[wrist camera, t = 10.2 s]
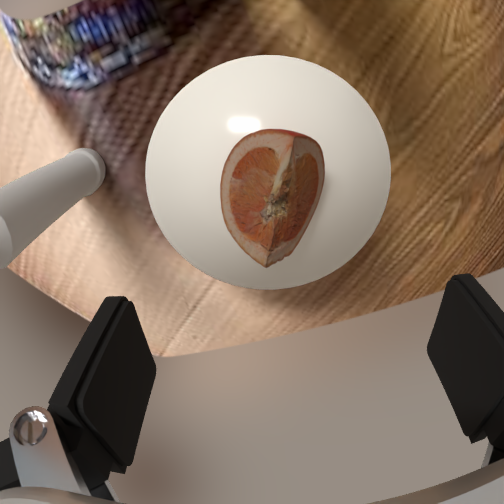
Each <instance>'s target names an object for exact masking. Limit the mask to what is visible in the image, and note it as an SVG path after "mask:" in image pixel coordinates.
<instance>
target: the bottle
mask: <svg viewBox="0 0 504 504" xmlns="http://www.w3.org/2000/svg"><path fill="white" fill-rule="evenodd" d="M104 177H105V164H104V161H103V159H102V157H101V156H100V155H99V153H97V152H96V151H94V150H92V149H87V148H79V149H77V150H74V151H72V152H69V153H68V154H67V155H66V156H65V157H64V158H62V159H59V160H57V161H55V162H53V163H50V164H48V165H46V166H44V167H41V168H39V169H37V170H35V171H33V172H31V173H29V174H27V175H24V176H22V177H20V178H18V179H16V180H14V181H12V182H10V183H9V184H7V185H5V186H3V187H1V188H0V269H2V268H5V267H7V266H8V265H9V264H10V263H11V262H12V261H13V260H14V259H15V258H16V257H17V256H18V255H19V254H20V253H21V252H22V251H23V250H24V249H25V248H26V247H27V246H28V245H29V244H30V243H31V242H32V241H34V240H35V239H36V238H37V237H38V236H39V235H40V234H41V233H42V232H43V231H44V230H46V229H47V228H48V227H49V226H50V225H51V224H52V223H53V222H55V221H56V220H57V219H58V218H59V217H60V216H62V215H63V214H64V213H65V212H66V211H67V210H69V209H70V208H71V207H72V206H73V205H75V204H76V203H77V202H78V201H80V200H81V199H82V198H83V197H86V196H89V195H91V194H92V193H94V192H95V191H96V190H97V189H98V188H99V187H100V186H101V184H102V182H103V180H104Z"/></svg>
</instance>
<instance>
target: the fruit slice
mask: <svg viewBox="0 0 504 504" xmlns="http://www.w3.org/2000/svg"><path fill="white" fill-rule="evenodd" d="M324 177H325V164H324V157H323V152H322V149H321V147H320V145H319V144H318V142H317V141H316V140H314V139H312V138H311V137H309V136H307V135H304V134H301V133H298V132H295V131H290V130H284V129H262V130H259V131H256V132H254V133H250V134H248V135H246V136H245V137H243V138H242V139H241V140H240V141H239V142H238V143H237V144H236V145H235V146H234V147H233V149H232V150H231V152H230V153H229V155H228V158H227V160H226V161H225V164H224V167H223V171H222V176H221V183H220V199H221V210H222V214H223V219H224V222H225V225H226V227H227V230H228V231H229V233H230V234H231V236H232V237H233V239H234V240H235V242H236V243H237V244H238V245H239V247H240V248H241V249H242V250H243V251H244V252H245V253H246V254H247V255H249V256H250V257H251V258H252V259H253V260H255V261H256V262H257V263H259V264H261V265H262V266H263V267H265V268H268V267H270V266H271V265H272V264H275V263H277V261H279V262H280V261H282V260H283V259H284V257H287V256H290V255H291V254H292V252H293V251H294V249H295V248H296V246H297V245H298V244H299V242H300V240H301V238H302V236H303V235H304V233H305V231H306V229H307V227H308V225H309V223H310V221H311V219H312V217H313V215H314V212H315V210H316V208H317V205H318V202H319V199H320V196H321V193H322V189H323V184H324Z"/></svg>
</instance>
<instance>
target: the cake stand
mask: <svg viewBox="0 0 504 504" xmlns="http://www.w3.org/2000/svg"><path fill="white" fill-rule="evenodd" d="M262 129H284V130H290V131H295V132H298V133H301V134H304V135H307V136H309V137H311V138H312V139H314V140H316V141H317V142H318V144H319V145H320V147H321V149H322V152H323V157H324V164H325V177H324V184H323V189H322V193H321V196H320V199H319V202H318V205H317V208H316V210H315V212H314V215H313V217H312V219H311V221H310V223H309V225H308V227H307V229H306V231H305V233H304V235H303V236H302V238H301V240H300V242H299V244H298V245H297V246H296V248H295V249H294V251H293V252H292V254H291V255H290V256H287V257H284V259H283V260H282V261H280V262H279V261H277V263H275V264H272V265H271V266H270V267H268V268H265V267H263V266H262V265H261V264H259V263H257V262H256V261H255V260H253V259H252V258H251V257H250V256H249V255H247V254H246V253H245V252H244V251H243V250H242V249H241V248H240V247H239V245H238V244H237V243H236V242H235V240H234V239H233V237H232V236H231V234H230V233H229V231H228V230H227V227H226V225H225V222H224V219H223V214H222V210H221V199H220V183H221V176H222V171H223V167H224V164H225V161H226V160H227V158H228V155H229V153H230V152H231V150H232V149H233V147H234V146H235V145H236V144H237V143H238V142H239V141H240V140H241V139H242V138H243V137H245V136H246V135H248V134H250V133H254V132H256V131H259V130H262ZM145 178H146V187H147V195H148V199H149V202H150V206H151V210H152V212H153V214H154V217H155V219H156V222H157V224H158V225H159V227H160V229H161V231H162V233H163V234H164V236H165V237H166V239H167V240H168V241H169V243H170V244H171V245H172V247H173V248H174V249H175V250H176V251H177V252H178V253H179V254H180V255H181V256H182V257H183V258H184V259H186V260H187V261H188V262H189V263H190V264H192V265H193V266H194V267H196V268H197V269H199V270H201V271H202V272H204V273H205V274H207V275H209V276H211V277H213V278H215V279H217V280H220V281H223V282H226V283H228V284H231V285H235V286H239V287H244V288H250V289H260V290H276V289H285V288H292V287H296V286H300V285H304V284H307V283H310V282H313V281H316V280H318V279H320V278H322V277H324V276H326V275H328V274H330V273H332V272H333V271H335V270H337V269H338V268H340V267H341V266H343V265H344V264H345V263H346V262H348V261H349V260H350V259H351V258H353V257H354V256H355V255H356V254H357V253H358V252H359V250H360V249H361V248H362V247H363V246H364V245H365V244H366V242H367V241H368V240H369V238H370V237H371V236H372V234H373V232H374V231H375V229H376V227H377V225H378V224H379V222H380V219H381V217H382V215H383V212H384V210H385V207H386V203H387V199H388V195H389V189H390V181H391V163H390V156H389V149H388V145H387V142H386V138H385V135H384V132H383V130H382V128H381V125H380V123H379V121H378V119H377V117H376V116H375V114H374V112H373V111H372V109H371V108H370V106H369V105H368V103H367V102H366V101H365V100H364V99H363V97H362V96H361V95H360V94H359V93H358V92H357V91H356V90H355V89H354V88H353V87H352V86H351V85H349V84H348V83H347V82H346V81H345V80H343V79H342V78H340V77H339V76H337V75H336V74H334V73H333V72H331V71H329V70H327V69H325V68H323V67H321V66H319V65H317V64H314V63H311V62H308V61H305V60H302V59H298V58H293V57H287V56H280V55H259V56H251V57H243V58H240V59H236V60H232V61H229V62H226V63H223V64H221V65H219V66H216V67H214V68H212V69H210V70H208V71H206V72H205V73H203V74H201V75H200V76H198V77H196V78H195V79H194V80H192V81H191V82H190V83H189V84H188V85H186V86H185V87H184V88H183V89H182V90H181V91H180V92H179V93H178V94H177V95H176V96H175V97H174V98H173V100H172V101H171V102H170V103H169V105H168V106H167V107H166V109H165V110H164V112H163V113H162V115H161V116H160V119H159V121H158V123H157V125H156V127H155V129H154V131H153V134H152V137H151V140H150V143H149V147H148V152H147V159H146V176H145Z"/></svg>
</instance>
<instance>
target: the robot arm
mask: <svg viewBox="0 0 504 504" xmlns="http://www.w3.org/2000/svg"><path fill="white" fill-rule="evenodd" d="M427 353H428V356H429V358H430V360H431V362H432V364H433V366H434V368H435V370H436V372H437V374H438V376H439V378H440V381H441V383H442V385H443V387H444V389H445V392H446V394H447V396H448V398H449V400H450V403H451V405H452V407H453V409H454V411H455V414H456V416H457V419H458V421H459V423H460V426H461V428H462V430H463V433H464V434H465V435H466V436H469V439H470V441H471V444H472V443H475V442H477V441H480V440H482V439H485V438H486V436H487V437H488V440H489V444H488V448H487V451H486V454H485V457H484V460H483V463H482V466H481V469H478V470H476V471H474V472H471V473H469V474H466V475H464V476H461V477H458V478H456V479H453V480H450V481H448V482H445V483H442V484H439V485H436V486H433V487H430V488H427V489H423V490H420V491H416V492H413V493H409V494H406V495H402V496H398V497H395V498H390V499H386V500H382V501H377V502H373V503H368V504H504V312H503V311H502V310H501V309H500V307H499V306H498V305H497V304H496V302H495V301H494V300H493V299H492V298H491V297H490V295H489V294H488V293H487V292H486V291H485V289H484V288H483V287H482V286H481V285H480V284H479V283H478V282H477V280H476V279H475V278H474V277H473V276H472V275H471V274H468V273H467V274H459V275H454V276H452V278H451V280H450V281H448V282H447V285H446V288H445V292H444V295H443V299H442V302H441V305H440V309H439V312H438V315H437V318H436V322H435V324H434V328H433V330H432V334H431V336H430V339H429V342H428V345H427ZM155 376H156V365H155V362H154V360H153V357H152V354H151V351H150V349H149V346H148V344H147V341H146V338H145V335H144V333H143V330H142V327H141V324H140V321H139V319H138V316H137V313H136V310H135V307H134V304H133V303H132V302H131V301H128V299H127V298H126V297H124V296H109V297H106V298H105V299H104V301H103V303H102V304H101V306H100V308H99V309H98V311H97V313H96V314H95V316H94V318H93V319H92V321H91V323H90V325H89V326H88V328H87V330H86V332H85V333H84V335H83V337H82V339H81V341H80V342H79V344H78V346H77V348H76V350H75V352H74V353H73V355H72V357H71V359H70V361H69V363H68V365H67V366H66V369H65V370H64V372H63V374H62V376H61V378H60V380H59V382H58V384H57V386H56V388H55V390H54V392H53V394H52V396H51V398H50V400H49V404H50V405H49V407H48V409H47V410H46V409H44V408H42V407H39V406H32V407H28V408H25V409H24V410H22V411H20V412H19V413H18V414H17V415H16V416H15V417H14V419H13V421H12V422H11V425H10V429H9V438H7V439H5V440H4V441H2V442H0V504H124V503H121V502H120V500H119V499H118V497H117V495H116V494H115V492H114V490H113V488H112V487H111V485H110V483H109V481H108V478H109V474H110V471H112V472H117V473H122V474H125V472H126V468H127V466H130V465H131V464H132V462H133V459H134V455H135V450H136V446H137V443H138V439H139V435H140V431H141V427H142V423H143V420H144V416H145V412H146V409H147V405H148V401H149V398H150V394H151V390H152V387H153V383H154V380H155Z"/></svg>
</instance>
